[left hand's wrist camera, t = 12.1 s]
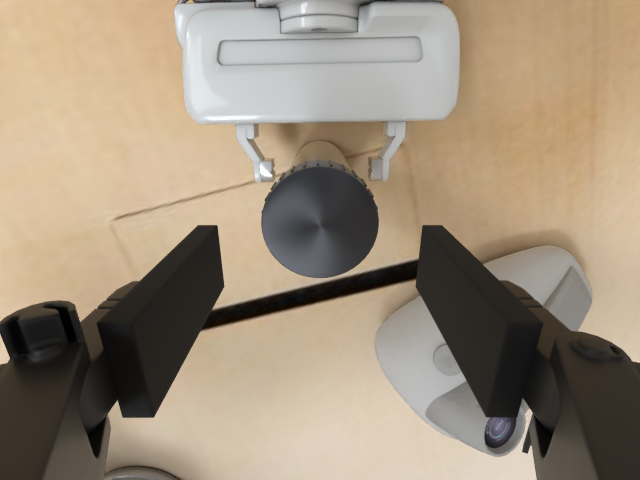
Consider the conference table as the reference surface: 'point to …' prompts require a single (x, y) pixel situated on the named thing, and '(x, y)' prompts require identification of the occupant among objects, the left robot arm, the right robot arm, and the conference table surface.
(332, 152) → the silver metal cylinder
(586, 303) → the projector
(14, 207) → the conference table surface
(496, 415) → the left robot arm
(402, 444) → the conference table surface
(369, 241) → the lid
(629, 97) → the conference table surface
